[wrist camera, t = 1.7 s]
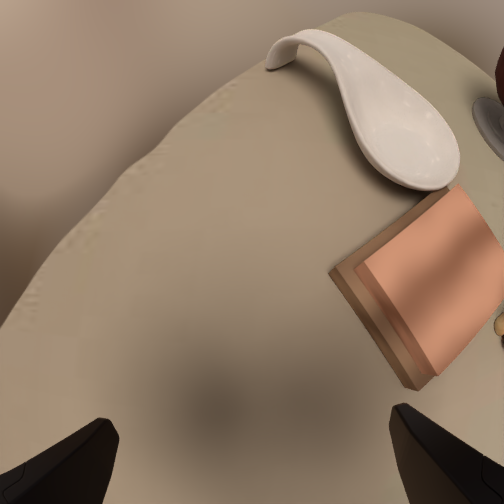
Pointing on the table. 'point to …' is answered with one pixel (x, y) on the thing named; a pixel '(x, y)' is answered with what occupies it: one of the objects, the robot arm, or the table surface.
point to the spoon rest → (383, 113)
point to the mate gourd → (492, 113)
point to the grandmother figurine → (499, 325)
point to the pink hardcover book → (426, 284)
